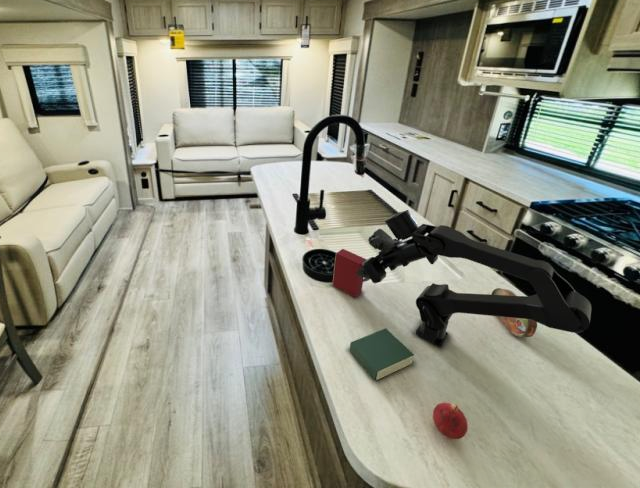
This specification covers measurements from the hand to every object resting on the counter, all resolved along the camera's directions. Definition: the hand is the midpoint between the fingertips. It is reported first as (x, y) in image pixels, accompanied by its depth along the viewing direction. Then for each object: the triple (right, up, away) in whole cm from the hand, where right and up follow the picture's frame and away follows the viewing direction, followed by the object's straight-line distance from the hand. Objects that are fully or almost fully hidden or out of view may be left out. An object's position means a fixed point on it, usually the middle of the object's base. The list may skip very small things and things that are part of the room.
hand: (364, 267), depth 97 cm
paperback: (-3, -9, +7) cm, 12 cm away
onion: (+3, -25, -33) cm, 42 cm away
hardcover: (-3, -19, -17) cm, 25 cm away
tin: (+39, -14, -8) cm, 42 cm away
